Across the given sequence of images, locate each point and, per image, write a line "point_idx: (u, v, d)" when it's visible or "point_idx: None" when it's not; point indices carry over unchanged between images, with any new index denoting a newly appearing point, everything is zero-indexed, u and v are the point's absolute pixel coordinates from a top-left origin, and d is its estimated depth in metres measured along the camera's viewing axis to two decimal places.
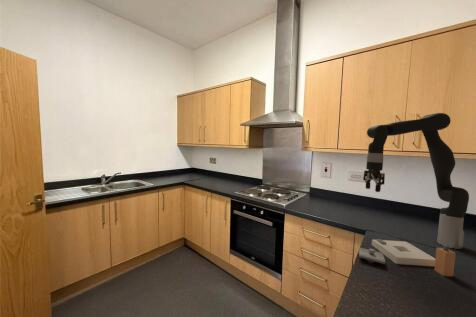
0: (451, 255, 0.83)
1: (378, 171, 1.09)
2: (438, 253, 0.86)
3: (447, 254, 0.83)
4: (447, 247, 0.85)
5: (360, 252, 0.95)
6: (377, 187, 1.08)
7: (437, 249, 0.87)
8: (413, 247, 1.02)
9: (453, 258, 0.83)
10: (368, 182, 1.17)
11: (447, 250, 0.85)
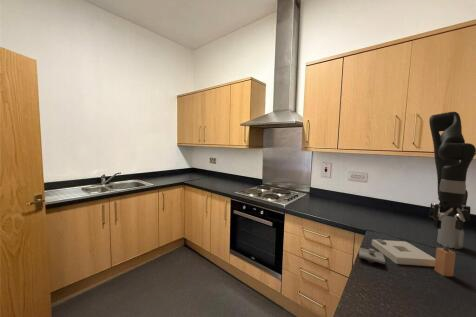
0: (451, 255, 0.83)
1: None
2: (438, 253, 0.86)
3: (447, 254, 0.83)
4: (447, 247, 0.85)
5: (360, 252, 0.95)
6: (462, 224, 0.84)
7: (437, 249, 0.87)
8: (413, 247, 1.02)
9: (453, 258, 0.83)
10: None
11: (447, 250, 0.85)
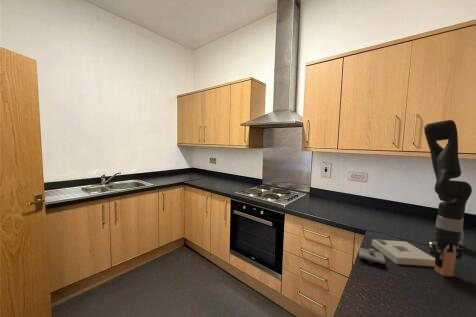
0: (451, 255, 0.83)
1: None
2: None
3: (448, 254, 0.83)
4: None
5: (360, 252, 0.95)
6: None
7: None
8: (413, 247, 1.02)
9: (453, 258, 0.83)
10: None
11: None
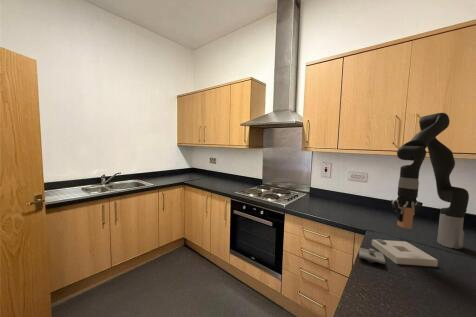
0: (410, 210, 0.97)
1: None
2: (400, 210, 1.00)
3: (407, 209, 0.97)
4: None
5: (360, 252, 0.95)
6: None
7: None
8: (413, 247, 1.02)
9: (411, 213, 0.97)
10: None
11: None
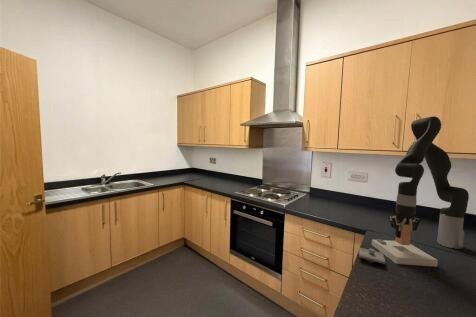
0: (408, 227, 0.97)
1: None
2: None
3: (405, 226, 0.97)
4: None
5: (360, 252, 0.95)
6: None
7: None
8: (413, 247, 1.02)
9: (409, 230, 0.97)
10: None
11: None
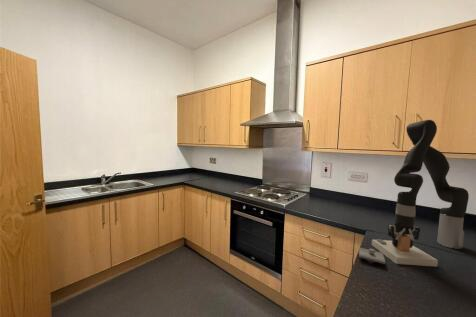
0: (407, 239, 0.98)
1: None
2: None
3: (404, 238, 0.98)
4: None
5: (360, 252, 0.95)
6: (412, 243, 0.99)
7: None
8: (413, 247, 1.02)
9: (408, 241, 0.98)
10: None
11: (404, 235, 0.99)
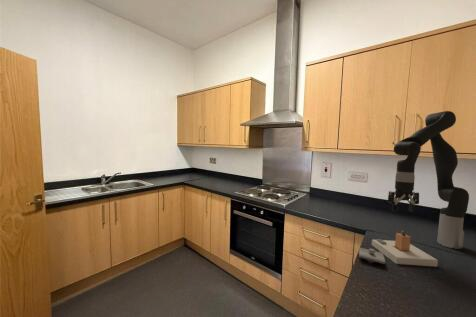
0: (407, 239, 0.98)
1: None
2: (397, 237, 1.01)
3: (404, 238, 0.98)
4: (404, 232, 0.99)
5: (360, 252, 0.95)
6: (413, 207, 1.04)
7: (396, 234, 1.01)
8: (413, 247, 1.02)
9: (408, 241, 0.98)
10: None
11: (404, 235, 0.99)
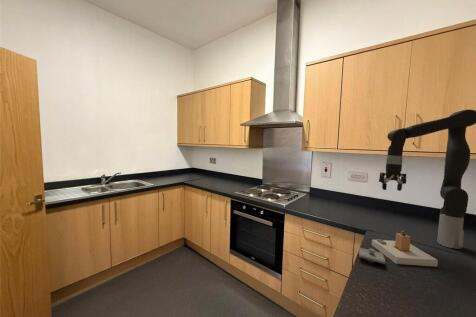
0: (407, 239, 0.98)
1: None
2: (397, 237, 1.01)
3: (404, 238, 0.98)
4: (404, 232, 0.99)
5: (360, 252, 0.95)
6: (401, 186, 1.20)
7: (396, 234, 1.01)
8: (413, 247, 1.02)
9: (408, 241, 0.98)
10: None
11: (404, 235, 0.99)
